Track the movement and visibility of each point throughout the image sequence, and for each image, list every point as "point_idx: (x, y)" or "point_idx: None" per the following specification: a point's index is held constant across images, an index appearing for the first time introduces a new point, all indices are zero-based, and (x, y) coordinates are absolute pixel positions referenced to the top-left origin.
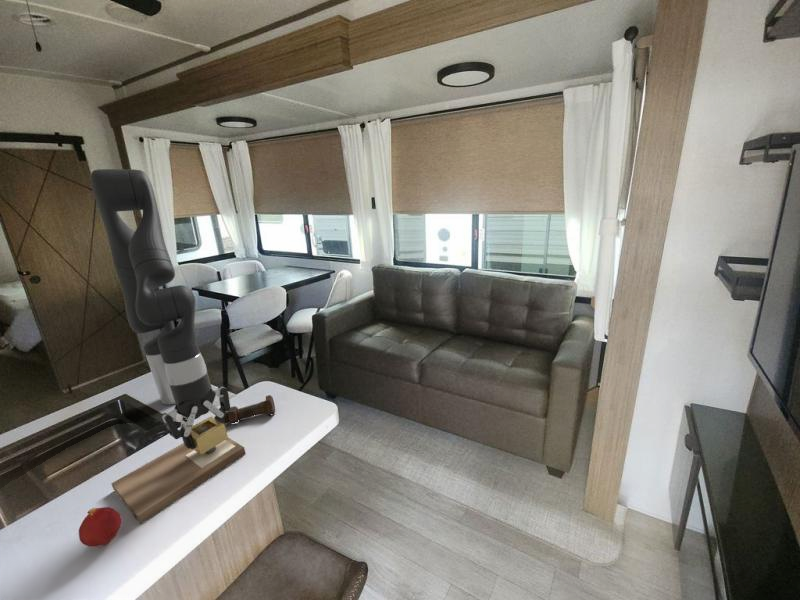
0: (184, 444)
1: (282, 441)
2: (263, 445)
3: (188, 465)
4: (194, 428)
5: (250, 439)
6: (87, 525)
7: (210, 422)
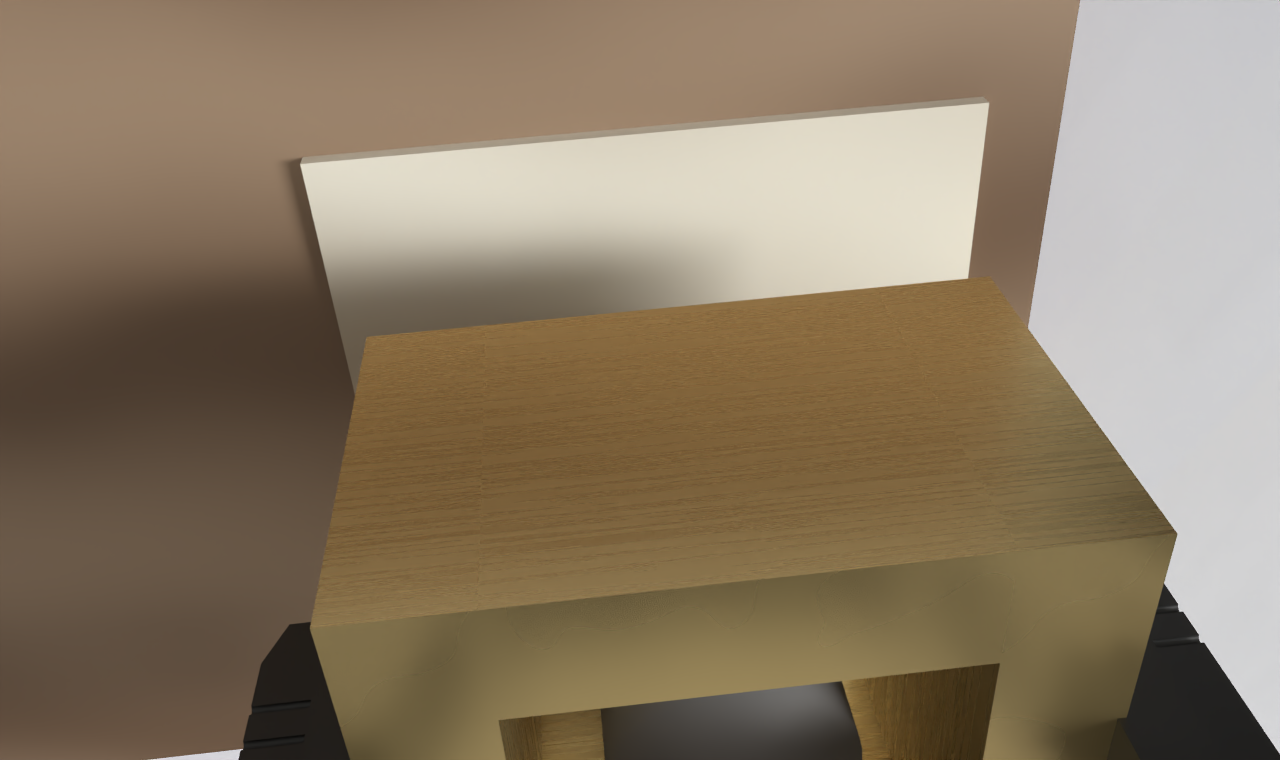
0: (257, 689)
1: (1272, 688)
2: None
3: (281, 455)
4: (588, 689)
5: (1186, 366)
6: None
7: (975, 703)
